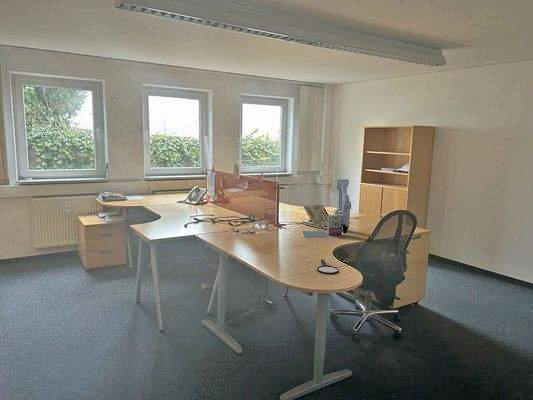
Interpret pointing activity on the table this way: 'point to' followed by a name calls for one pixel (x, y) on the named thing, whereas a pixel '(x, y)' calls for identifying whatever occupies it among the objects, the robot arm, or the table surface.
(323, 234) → the mat
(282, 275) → the table surface
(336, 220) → the candy bar box
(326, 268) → the magnifying glass
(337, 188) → the robot arm
